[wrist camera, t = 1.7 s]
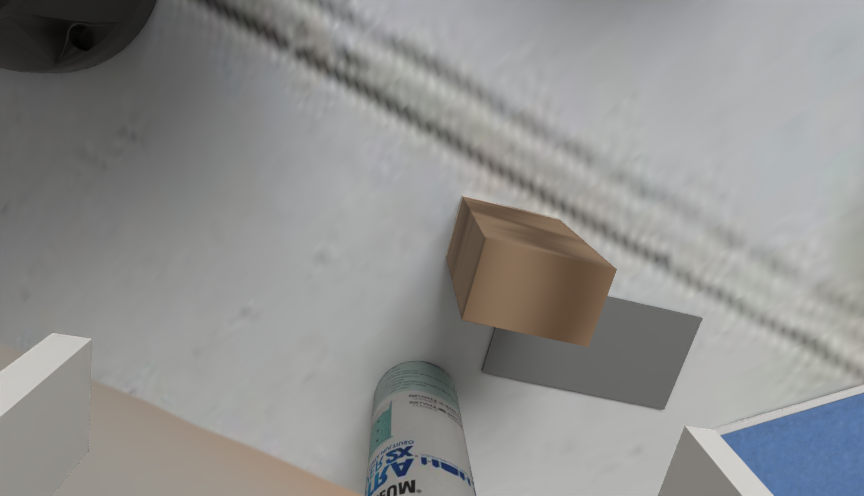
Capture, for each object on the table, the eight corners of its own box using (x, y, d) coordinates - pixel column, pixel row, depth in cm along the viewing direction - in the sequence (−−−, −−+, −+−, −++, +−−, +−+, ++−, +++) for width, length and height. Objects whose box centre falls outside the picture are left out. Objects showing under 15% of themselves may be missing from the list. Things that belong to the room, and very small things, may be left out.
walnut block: (445, 255, 39) (461, 320, 29) (462, 195, 38) (485, 238, 27) (538, 277, 40) (588, 347, 29) (558, 218, 39) (616, 269, 28)
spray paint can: (430, 446, 44) (454, 731, 24) (357, 411, 42) (322, 684, 23) (473, 381, 42) (534, 631, 23) (399, 344, 41) (398, 575, 22)
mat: (481, 371, 42) (482, 372, 42) (511, 274, 40) (512, 275, 40) (663, 408, 44) (664, 409, 44) (701, 317, 42) (702, 318, 41)
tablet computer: (721, 542, 49) (730, 554, 47) (698, 426, 45) (707, 436, 44) (937, 478, 48) (952, 489, 47) (931, 355, 44) (947, 363, 43)
